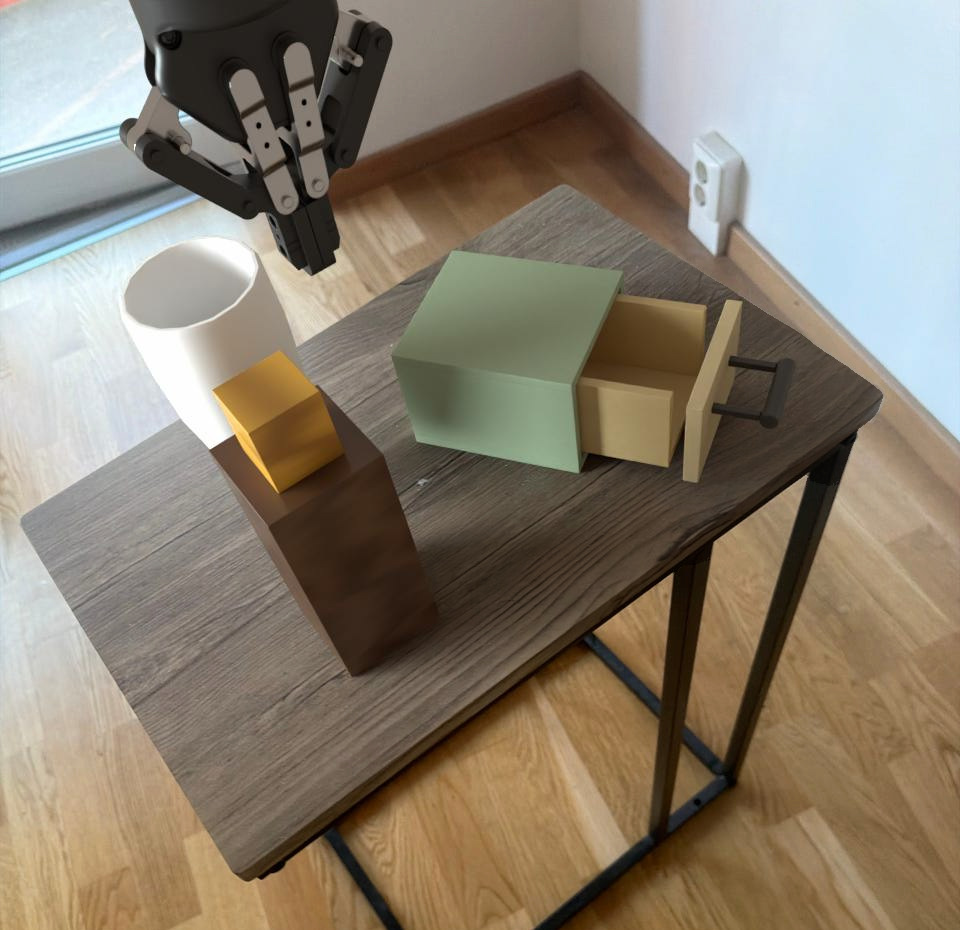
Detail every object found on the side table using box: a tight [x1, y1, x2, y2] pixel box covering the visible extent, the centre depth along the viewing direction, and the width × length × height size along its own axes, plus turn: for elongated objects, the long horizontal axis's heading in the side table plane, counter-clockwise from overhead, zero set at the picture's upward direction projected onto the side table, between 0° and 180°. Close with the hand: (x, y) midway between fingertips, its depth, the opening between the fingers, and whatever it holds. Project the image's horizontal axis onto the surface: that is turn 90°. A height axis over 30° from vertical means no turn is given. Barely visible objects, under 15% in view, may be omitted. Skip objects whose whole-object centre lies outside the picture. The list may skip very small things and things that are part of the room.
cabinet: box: [390, 249, 625, 474], centre depth 76 cm, size 15×13×10 cm
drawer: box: [576, 294, 797, 484], centre depth 72 cm, size 18×11×8 cm, turn 68°
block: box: [212, 350, 344, 493], centre depth 54 cm, size 5×5×5 cm
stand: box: [208, 384, 441, 678], centre depth 63 cm, size 8×8×18 cm
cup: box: [118, 235, 308, 449], centre depth 69 cm, size 10×10×22 cm
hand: (315, 262), depth 47 cm, fingers closed
